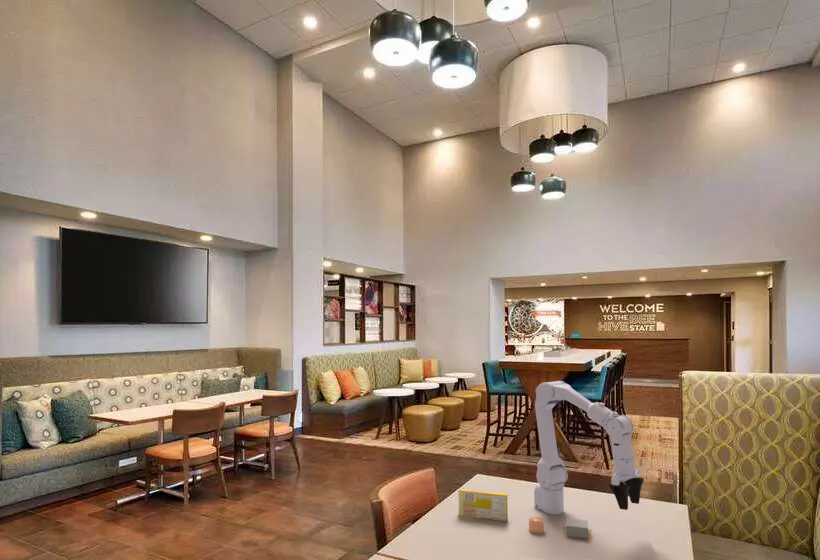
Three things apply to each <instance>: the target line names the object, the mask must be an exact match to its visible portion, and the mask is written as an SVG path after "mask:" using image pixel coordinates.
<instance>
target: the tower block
mask: <svg viewBox="0 0 820 560" xmlns="http://www.w3.org/2000/svg"><path fill="white" fill-rule="evenodd" d="M588 524H589V523H588V519H587V520H586V519H577V518H569V517H567V518H566V526H565V527H566V529H567V536H569V537H577V538H585V539H588V529H589V525H588Z"/></svg>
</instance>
